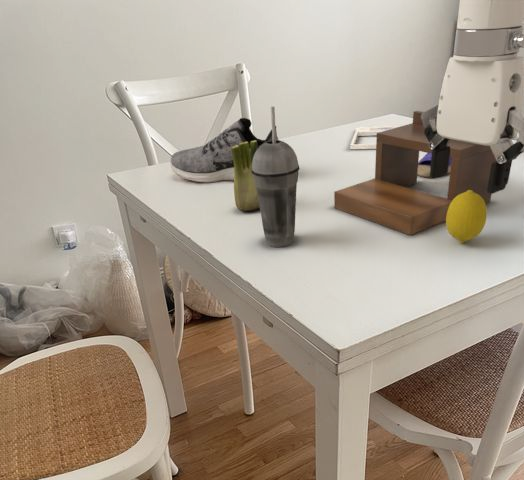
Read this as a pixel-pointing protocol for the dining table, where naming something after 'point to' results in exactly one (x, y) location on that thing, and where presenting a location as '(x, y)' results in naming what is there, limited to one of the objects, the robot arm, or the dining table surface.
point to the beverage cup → (276, 188)
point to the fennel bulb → (244, 176)
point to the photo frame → (368, 132)
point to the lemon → (466, 216)
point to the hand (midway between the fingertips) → (465, 183)
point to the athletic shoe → (215, 155)
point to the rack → (414, 180)
